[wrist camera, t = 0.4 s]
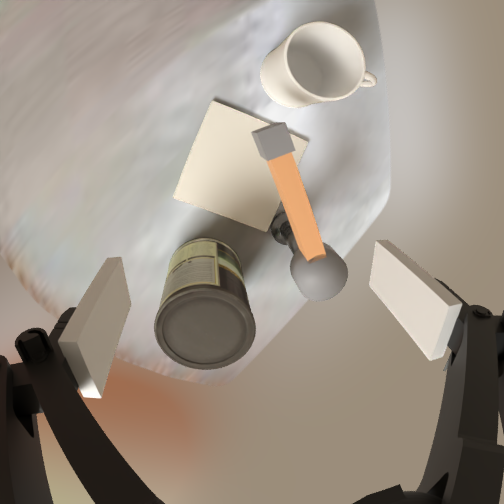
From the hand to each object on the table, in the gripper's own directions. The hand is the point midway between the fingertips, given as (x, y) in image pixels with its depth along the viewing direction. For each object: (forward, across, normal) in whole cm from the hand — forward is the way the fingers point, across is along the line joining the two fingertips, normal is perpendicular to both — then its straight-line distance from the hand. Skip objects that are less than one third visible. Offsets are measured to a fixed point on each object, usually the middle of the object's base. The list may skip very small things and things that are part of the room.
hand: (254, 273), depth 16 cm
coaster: (+26, +2, +1) cm, 26 cm away
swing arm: (+14, +6, -1) cm, 16 cm away
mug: (+27, +10, +13) cm, 31 cm away
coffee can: (+26, -4, -13) cm, 29 cm away
